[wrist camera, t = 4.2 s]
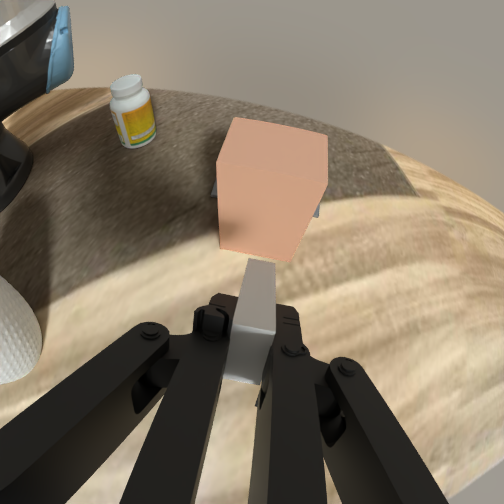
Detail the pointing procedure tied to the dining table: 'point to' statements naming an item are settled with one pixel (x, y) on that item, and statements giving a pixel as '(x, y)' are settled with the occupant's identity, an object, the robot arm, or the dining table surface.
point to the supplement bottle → (132, 111)
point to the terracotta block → (269, 186)
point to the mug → (17, 335)
